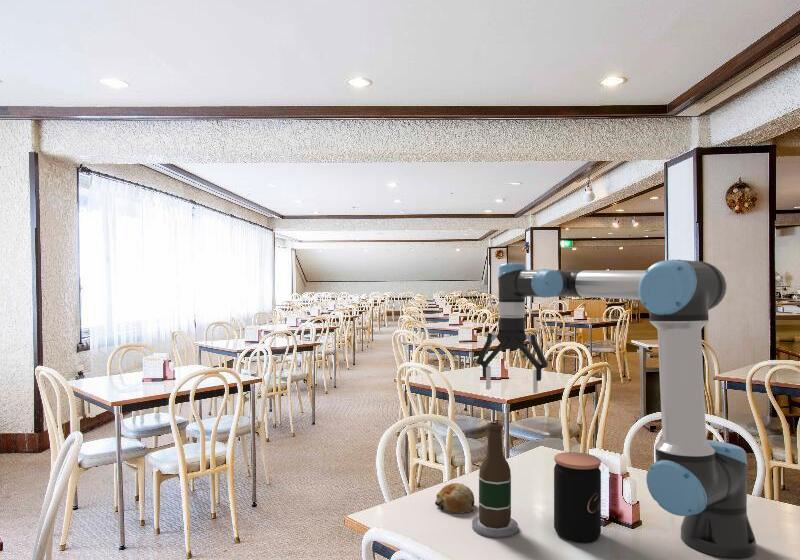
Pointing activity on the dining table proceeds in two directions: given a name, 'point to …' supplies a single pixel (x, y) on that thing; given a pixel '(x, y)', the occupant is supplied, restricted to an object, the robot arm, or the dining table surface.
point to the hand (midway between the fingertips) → (511, 390)
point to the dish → (494, 532)
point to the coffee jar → (577, 497)
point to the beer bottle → (495, 483)
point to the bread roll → (455, 498)
